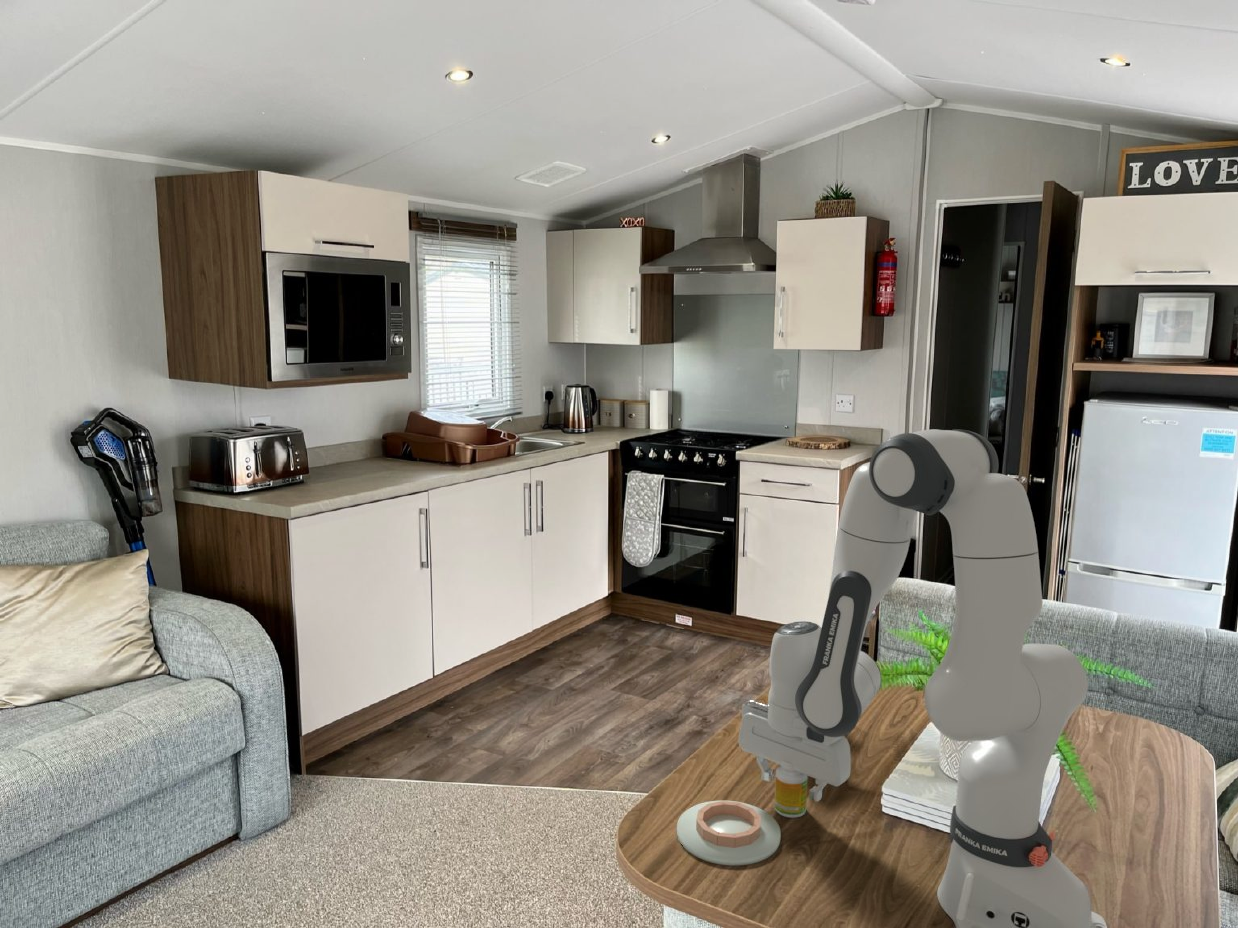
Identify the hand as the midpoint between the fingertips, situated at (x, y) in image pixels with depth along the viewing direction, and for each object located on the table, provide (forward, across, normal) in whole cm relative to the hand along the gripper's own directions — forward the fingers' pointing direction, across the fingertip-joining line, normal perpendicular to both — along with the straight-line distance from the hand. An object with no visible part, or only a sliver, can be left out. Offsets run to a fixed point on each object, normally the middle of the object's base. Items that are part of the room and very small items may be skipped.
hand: (791, 789), depth 159 cm
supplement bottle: (+4, 0, 0) cm, 4 cm away
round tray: (+4, -4, -13) cm, 14 cm away
